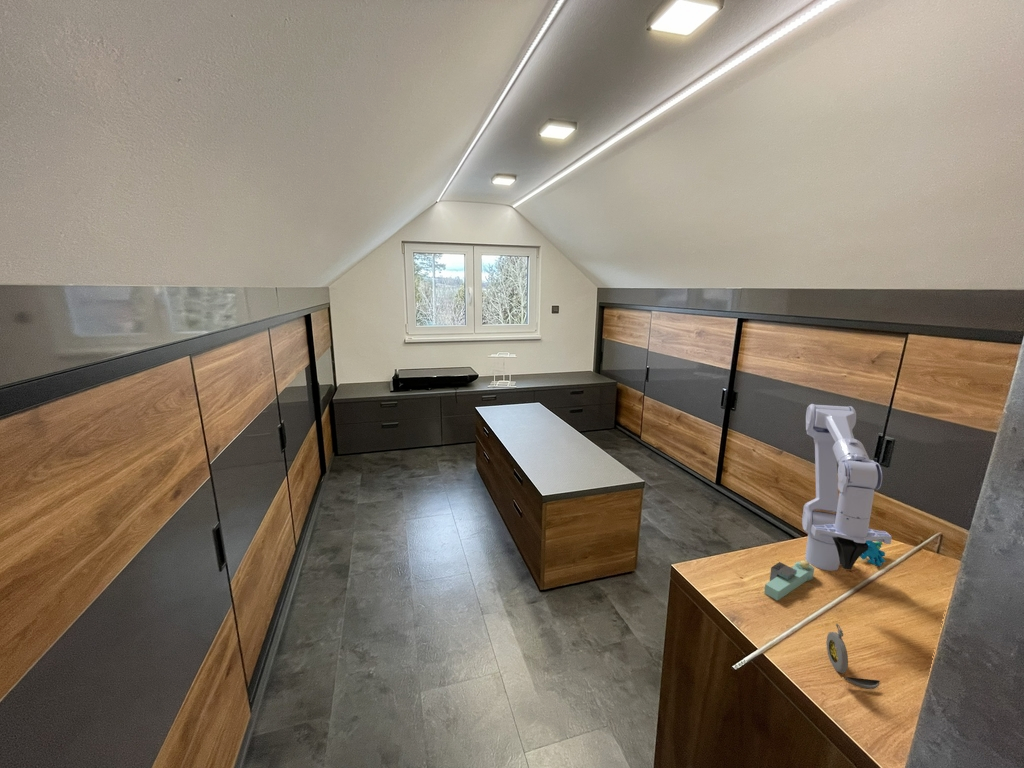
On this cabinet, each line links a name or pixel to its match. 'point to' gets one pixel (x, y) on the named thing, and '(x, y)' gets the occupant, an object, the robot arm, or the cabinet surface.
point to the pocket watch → (844, 659)
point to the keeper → (782, 571)
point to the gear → (874, 553)
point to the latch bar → (789, 581)
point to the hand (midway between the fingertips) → (845, 566)
